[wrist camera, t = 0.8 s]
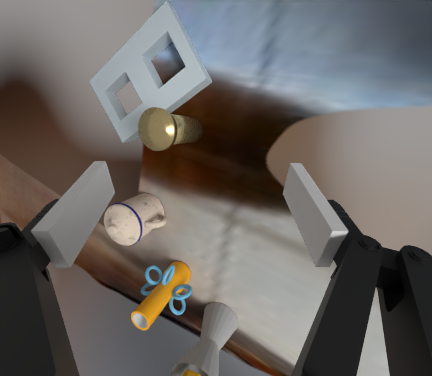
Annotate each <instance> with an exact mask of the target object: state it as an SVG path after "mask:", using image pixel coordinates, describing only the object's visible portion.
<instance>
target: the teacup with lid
mask: <svg viewBox="0 0 432 376" xmlns="http://www.w3.org/2000/svg"><path fill="white" fill-rule="evenodd" d="M104 224H105V228H106V230H107V232H108V234H109V236H110V237H111V238H112V239H113V240H114V241H115V242H117V243H119V244H121V245H133V244H135V243H137V242H138V241H139V240H140V239H141V238H142V237H143V236H145V235H146V234H148V233H149V232H151V231H152V230H153V229H155V228H159V227H162V226H163V225H165V224H166V217H165V216H164V210H163V206H162V204H161V203H160V201H159V200H158V199H157V198H156V197H155V196H153V195H151V194H147V193H143V194H140V195H137V196H135V197H132V198H130V199H128V200H125V201H123V202H120V203H115V204H112V205H111V206H110V207H109V208H108V209H107V210H106V212H105V215H104Z"/></svg>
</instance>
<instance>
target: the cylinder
mask: <svg viewBox="0 0 432 376" xmlns="http://www.w3.org/2000/svg"><path fill="white" fill-rule="evenodd" d="M151 269H155V270H156V271H157V272H158V274H159V279H158V281H153V280H151V278H150V277H149V271H150V270H151ZM145 277H146V280H147V281H148V282H149V283H147V284H145V285H144V286H143V287H142V288H141V293H142V294H143V295H146V296H147V295H148V296H147V297H146V298H145V299H144V300H143V302H142V303H141V304H140V305H139V306H138V307H137V308H136V309H135V311H134V312H133V313H132V315H131V319H132V322H133V323H134V325H135V326H136V327H137V328H139V329H141V330H147V329H148V328H149V327H150V325H151V324H152V323H153V322H154V320H155V319H156V318H157V316H158V315H159V314H160V312H161V311H162V310H163V308H164V307H165V306H166V304H167V303H168V302H169V307H170V310H171V311H172V312H173V313H174V314H175V315H181V314H182V313H183V312H184V311H185V307H186V304H185V300H184V299H185V298H187V297H189V296H190V294H191V293H192V288H191V286H189V285H187V283H188V282H189V280H190V278H191V271H190V269H189V268H188V266H187V265H186V264H184V263H183V262H180V261H175V262H173V263H171V264H170V265H169V266H168V267H167V269H166V270H165V271H164V272H163V273H162V271H161V270H160V268H159V267H157V266H154V265H152V266H149V267H148V268H147V269H146V272H145ZM151 285H157V286H156V287H155V288H154V289H153V290H152V291H148V292H146V291H145V289H146V288H147V287H148V286H151ZM184 288H186V289H188V292H187V293H186V294H184V295H180V294H178V293H180V292H181V291H182V290H183V289H184ZM173 299H176V300H181V303H182V309H181V310H180V311H177V310H176V309H175V308H174V307H173Z"/></svg>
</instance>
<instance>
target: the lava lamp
mask: <svg viewBox="0 0 432 376" xmlns="http://www.w3.org/2000/svg"><path fill="white" fill-rule="evenodd" d="M237 327H238V318H237V316H236V314H235V312H234V311H233V310H232V309H231V308H230V307H228V306H227V305H225V304H223V303H219V302H213V303H210V304H208V305H207V306H206V307H205V310H204V316H203V323H202V331H201V338H200V341H199V342H198V343H197V344H196V345H195V346H194V347H193V348H192V349H191V350H190V351H189V352H188V353H187V354H186V355H185V356H184V357H183V358H182V359H181V360H179V361H178V363H177V364H176V365H175V366H174V368H173V369H172V376H219V374H218V373H219V372H218V371H219V350H220V349H221V348H222V347H223V345H224V344H225V343H226V341H227V340H228V339H229V338H230V336H231V335H232V334H233V332H234V331H235V330H236V329H237Z"/></svg>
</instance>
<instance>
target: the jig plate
mask: <svg viewBox="0 0 432 376" xmlns="http://www.w3.org/2000/svg"><path fill="white" fill-rule="evenodd" d="M172 41H173V43H174V45H175V47H176V49H177V51H178V52H179V54H180V56H181V58H182V60H183V62H184V64H185V66H186V67H185V68H184V69H182V70H181V71H180V72H179V73H177V74H176V75H175V76H174V77H173V78H171V79H170V80H169V81H168V82H167V83H165V84H164V85H163V83H162V81H161V79H160V77H159V75H158V73H157V71H156V69H155V67H154V66H153V64H152V62H151V61H152V60H153V59H154V58H155V57H156V56H157V55H158V54H159V53H160V52H161V51H162V50H163V49H165V48H166V47H167V46H168V45H169V44H170V43H171V42H172ZM129 81H131V82H132V85H133V86H134V88H135V90H136V92H137V94H138V96H139V98H140V99H141V101H142V103H141V104H140V105H139V106H138V107H136V108H135V109H134V110H133V111H132V112H130V113H129V114H128V115H127V114H126V112H125V110H124V108H123V107H122V105H121V103H120V101H119V99H118V98H117V96H116V93H117V92H118V91H119V90H120V89H121V88H122V87H123V86H124V85H125V84H127V83H128V82H129ZM89 83H90V84H91V86H92V88H93V90H94V92H95V93H96V95H97V97H98V99H99V101H100V103H101V104H102V106H103V108H104V110H105V112H106V113H107V115H108V117H109V119H110V121H111V123H112V124H113V126H114V128H115V130H116V132H117V134H118V135H119V137H120V139H121V141H122V142H132V141H134V140H135V139H136V138H138V137H139V132H138V123H139V119H140V117H141V115H142V113H143V112H144V111H145V110H147V109H149V108H152V107H158V108H163V109H165V110H167V111H169V112H170V113H171V112H173V111H174V110H176V109H177V108H178V107H180V106H181V105H182V104H184V103H185V102H186V101H188V100H189V99H190V98H192V97H193V96H194V95H196V94H197V93H198V92H200V91H201V90H202V89H204V88H205V87H207V86H208V85H209V84H211V83H212V80H211V78H210V76H209V74H208V72H207V70H206V68H205V66H204V65H203V63H202V61H201V59H200V57H199V55H198V53H197V51H196V49H195V47H194V45H193V43H192V41H191V39H190V37H189V35H188V33H187V31H186V29H185V27H184V25H183V23H182V21H181V19H180V17H179V16H178V14H177V12H176V10H175V9H174V8H173V7H172V6H171V5H170V4H169V3H168V2H167V1H165V2H164V3H163V5H162V6H161V7H160V8H159V9H158V10H157V11H156V12H155V13H154V14H153V15H152V16H151V17H150V18H149V19H148V20H147V21H146V22H145V23H144V24H143V25H142V26H141V28H140V29H139V30H138V31H137V32H136V33H135V34H134V35H133V36H132V37H131V38H130V39H129V40H128V41H127V42H126V43H125V44H124V45H123V46H122V47H121V48H120V49H119V50H118V52H117V53H116V54H115V55H114V56H113V57H112V58H111V59H110V60H109V61H108V62H107V63H106V64H105V65H104V66H103V67H102V68H101V69H100V71H98V72H97V73H96V75H94V77H93V78H92V79H91V80H90V81H89Z"/></svg>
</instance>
